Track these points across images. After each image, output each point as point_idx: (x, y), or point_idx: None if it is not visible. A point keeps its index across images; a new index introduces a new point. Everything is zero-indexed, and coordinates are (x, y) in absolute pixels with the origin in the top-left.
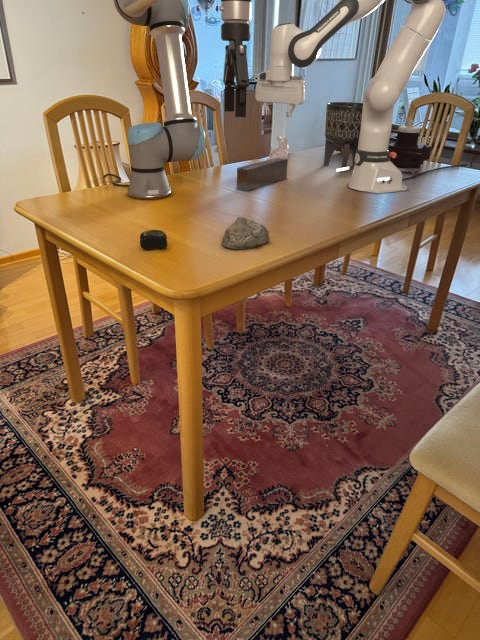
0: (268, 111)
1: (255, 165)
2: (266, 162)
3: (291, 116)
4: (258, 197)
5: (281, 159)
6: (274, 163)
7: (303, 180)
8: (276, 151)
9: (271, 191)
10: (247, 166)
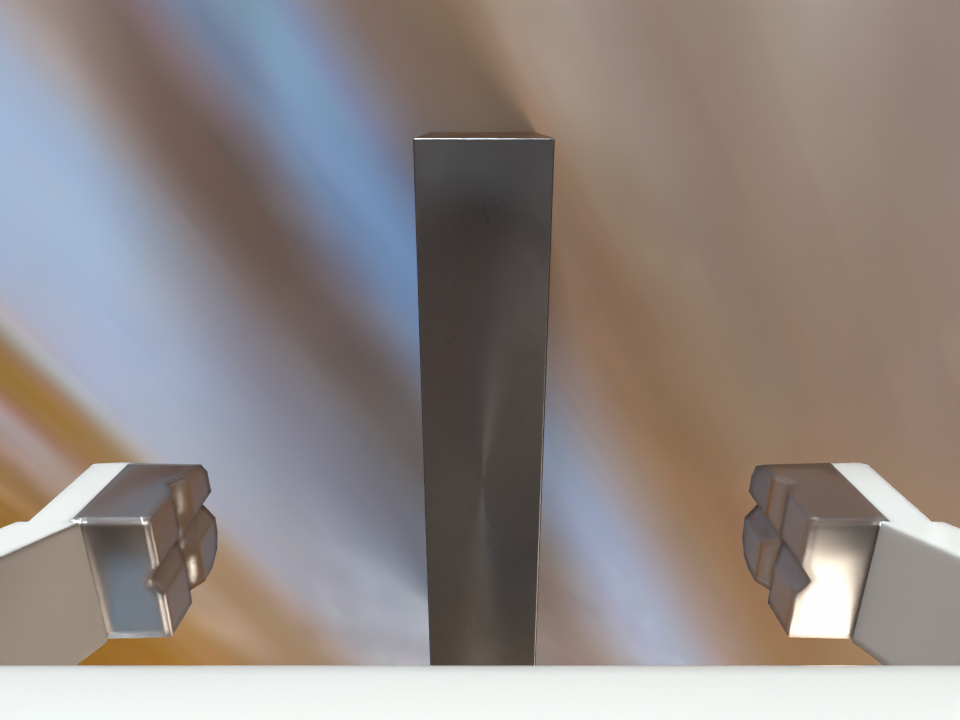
0: (173, 616)
1: (485, 587)
2: (484, 437)
3: (861, 477)
4: (645, 660)
5: (514, 210)
6: (544, 390)
7: (691, 78)
8: None
9: (641, 522)
10: (460, 650)
